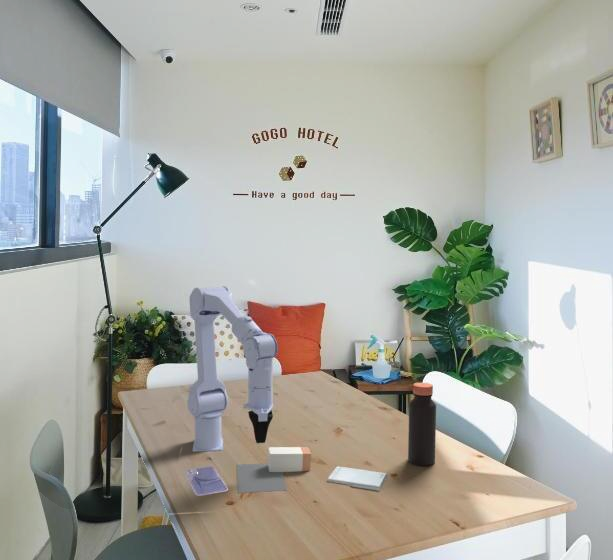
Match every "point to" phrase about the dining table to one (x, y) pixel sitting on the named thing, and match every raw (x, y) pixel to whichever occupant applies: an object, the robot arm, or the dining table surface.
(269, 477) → the mat
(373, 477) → the hard drive
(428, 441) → the bottle
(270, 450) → the block
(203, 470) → the mobile phone
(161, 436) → the dining table surface
